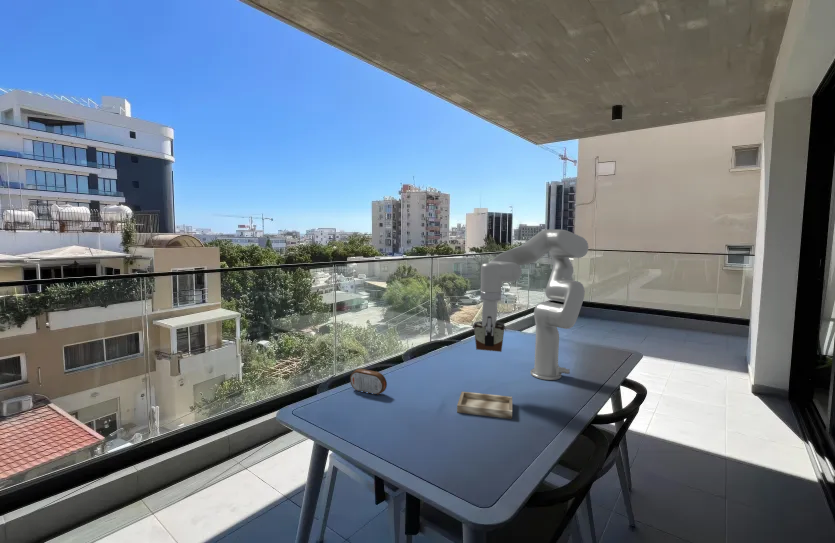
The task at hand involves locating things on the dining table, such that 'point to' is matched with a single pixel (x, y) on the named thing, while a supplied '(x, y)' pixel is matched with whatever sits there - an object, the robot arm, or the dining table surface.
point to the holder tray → (485, 405)
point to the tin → (368, 381)
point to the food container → (481, 333)
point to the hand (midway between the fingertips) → (489, 343)
